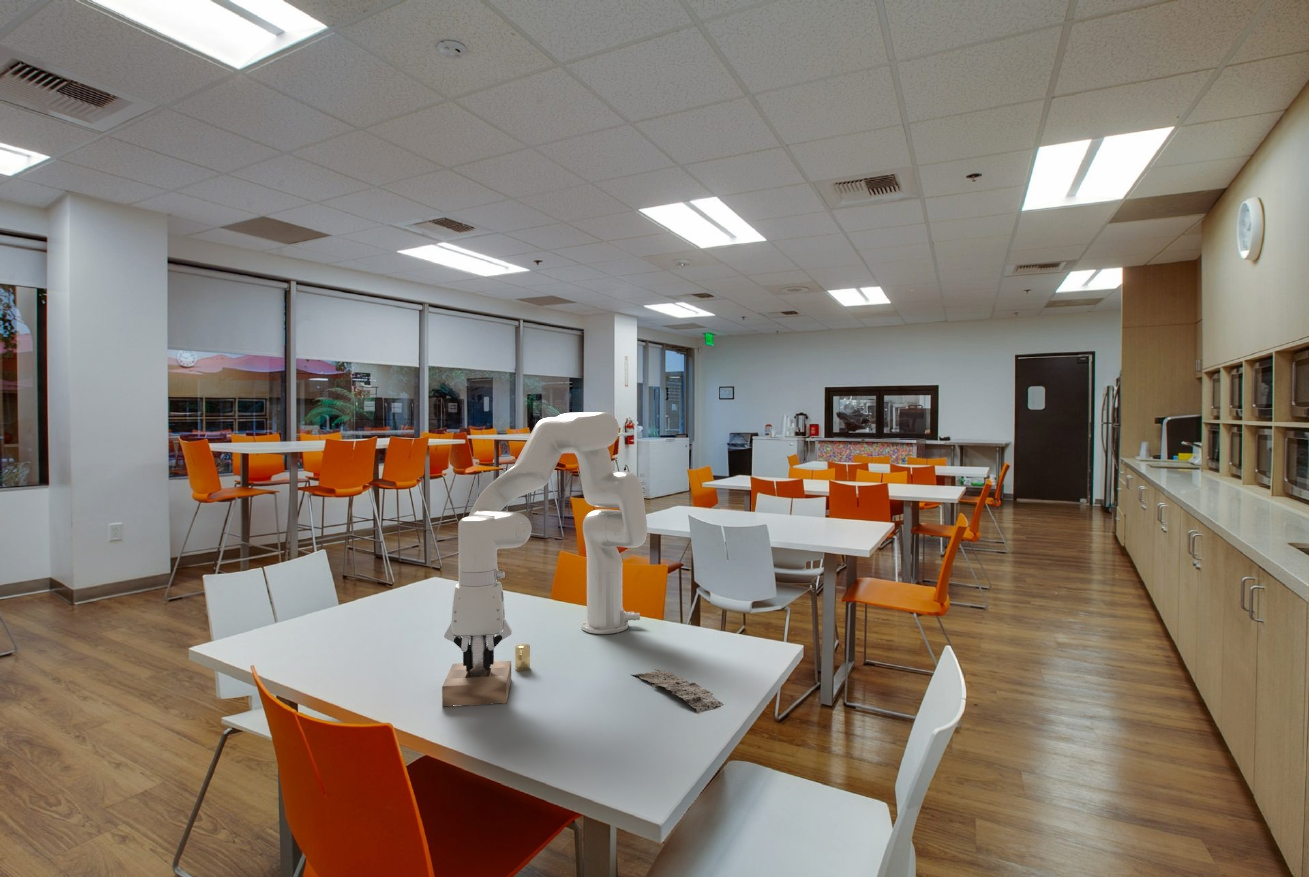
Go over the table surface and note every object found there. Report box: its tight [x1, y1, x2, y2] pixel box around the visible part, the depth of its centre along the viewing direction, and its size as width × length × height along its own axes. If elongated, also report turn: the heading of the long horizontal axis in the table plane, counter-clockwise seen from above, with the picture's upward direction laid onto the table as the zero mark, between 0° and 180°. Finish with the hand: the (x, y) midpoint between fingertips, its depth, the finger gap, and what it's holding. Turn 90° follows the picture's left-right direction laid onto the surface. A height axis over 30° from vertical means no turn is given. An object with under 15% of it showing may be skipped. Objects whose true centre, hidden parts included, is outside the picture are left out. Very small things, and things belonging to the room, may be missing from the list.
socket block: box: [441, 660, 512, 706], centre depth 129 cm, size 12×12×4 cm
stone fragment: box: [635, 668, 724, 714], centre depth 131 cm, size 25×3×10 cm
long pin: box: [469, 635, 488, 678], centre depth 129 cm, size 3×3×12 cm
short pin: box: [514, 643, 531, 672], centre depth 142 cm, size 3×3×5 cm
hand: (478, 667), depth 129 cm, fingers closed on long pin, 3 cm apart
